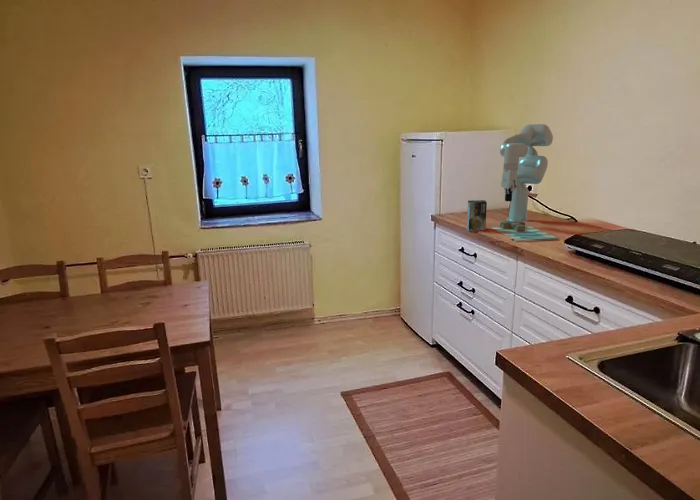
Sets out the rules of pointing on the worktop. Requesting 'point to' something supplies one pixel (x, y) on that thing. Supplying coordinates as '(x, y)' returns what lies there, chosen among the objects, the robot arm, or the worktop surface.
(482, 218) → the coffee box
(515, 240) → the board
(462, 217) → the worktop surface
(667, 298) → the worktop surface
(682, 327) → the worktop surface
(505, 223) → the t block
